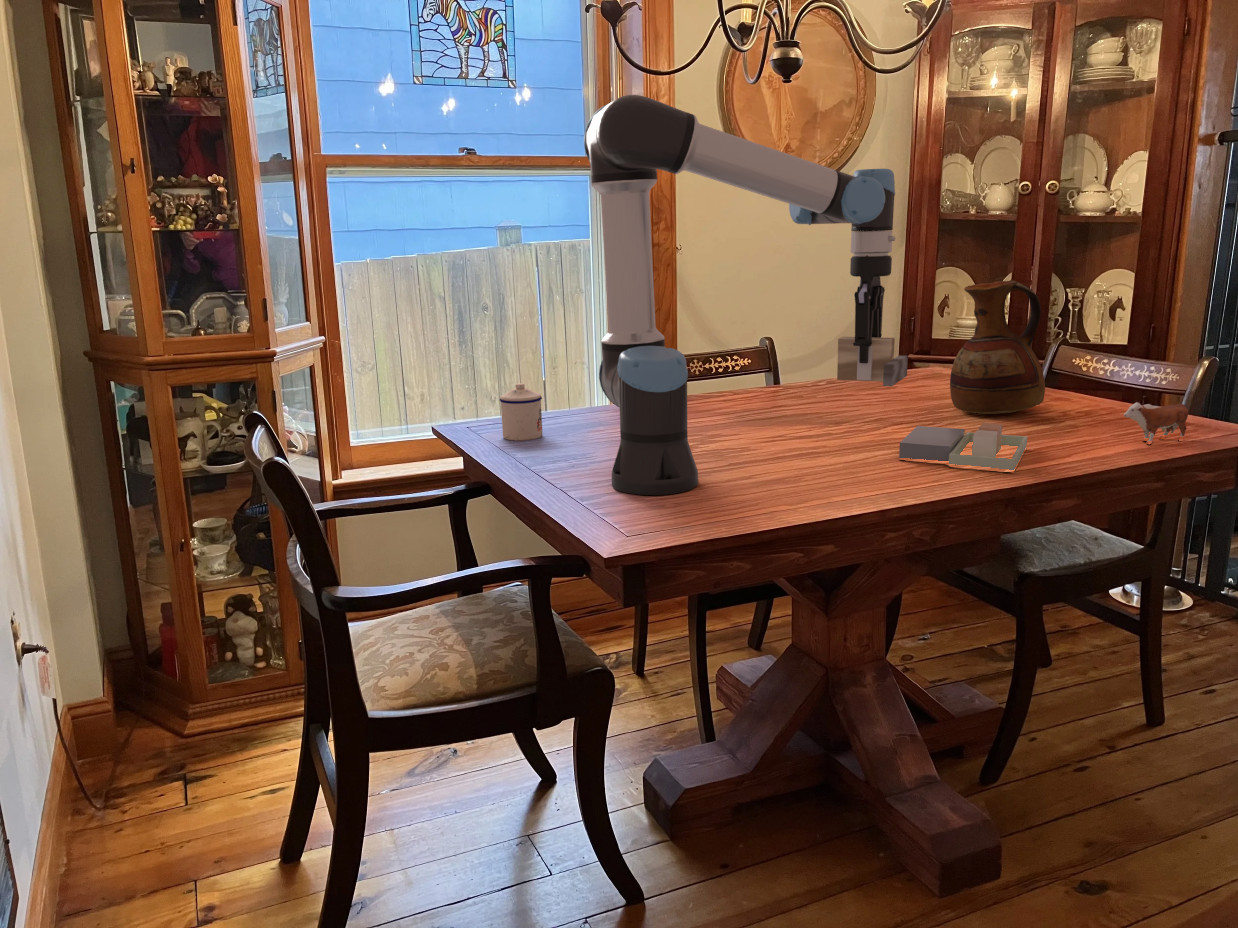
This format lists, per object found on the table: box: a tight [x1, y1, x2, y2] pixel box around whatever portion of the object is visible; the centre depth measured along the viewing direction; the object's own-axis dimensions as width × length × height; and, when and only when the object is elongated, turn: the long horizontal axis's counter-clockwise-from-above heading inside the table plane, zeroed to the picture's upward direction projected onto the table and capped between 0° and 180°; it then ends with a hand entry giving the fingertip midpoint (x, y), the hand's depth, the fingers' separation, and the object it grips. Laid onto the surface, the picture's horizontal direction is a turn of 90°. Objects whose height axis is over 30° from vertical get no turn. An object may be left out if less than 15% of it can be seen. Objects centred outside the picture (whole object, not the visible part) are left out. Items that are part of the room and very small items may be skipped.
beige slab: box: [836, 336, 909, 387], centre depth 183 cm, size 13×12×8 cm
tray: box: [949, 431, 1028, 470], centre depth 177 cm, size 20×11×2 cm, turn 152°
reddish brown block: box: [978, 422, 1003, 454], centre depth 180 cm, size 5×5×4 cm
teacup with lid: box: [499, 382, 543, 442], centre depth 207 cm, size 12×9×12 cm
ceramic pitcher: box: [949, 279, 1046, 415], centre depth 214 cm, size 20×20×30 cm
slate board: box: [898, 425, 966, 461], centre depth 181 cm, size 16×9×4 cm, turn 152°
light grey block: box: [972, 429, 998, 457], centre depth 174 cm, size 5×5×4 cm
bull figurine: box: [1123, 401, 1189, 442], centre depth 185 cm, size 4×13×8 cm, turn 102°
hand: (866, 377), depth 184 cm, fingers closed on beige slab, 3 cm apart
